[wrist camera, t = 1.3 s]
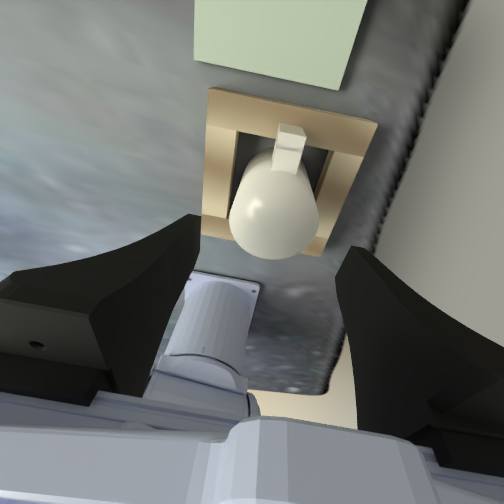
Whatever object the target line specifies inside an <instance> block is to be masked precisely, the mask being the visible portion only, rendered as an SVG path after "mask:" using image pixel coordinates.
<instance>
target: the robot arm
mask: <svg viewBox="0 0 504 504" xmlns="http://www.w3.org/2000/svg"><path fill="white" fill-rule="evenodd" d="M200 235H201V216H197V215H192V214H187V215H185V216H184V217H182V218H180V219H179V220H177V221H175V222H173V223H172V224H170V225H168V226H166V227H165V228H163V229H161V230H159V231H157V232H155V233H153V234H151V235H149V236H147V237H145V238H143V239H141V240H139V241H137V242H134V243H132V244H129V245H127V246H124V247H122V248H119V249H116V250H113V251H109V252H106V253H103V254H100V255H96V256H93V257H89V258H85V259H81V260H77V261H72V262H68V263H63V264H58V265H53V266H46V267H40V268H34V269H28V270H21V271H15V272H13V273H12V274H11V275H9V276H8V277H6V278H5V279H4V280H2V281H1V282H0V504H504V347H502V346H501V345H499V344H497V343H495V342H493V341H491V340H489V339H487V338H486V337H484V336H482V335H480V334H479V333H477V332H475V331H473V330H472V329H470V328H468V327H466V326H465V325H463V324H462V323H460V322H458V321H457V320H455V319H453V318H452V317H450V316H449V315H447V314H446V313H444V312H443V311H441V310H440V309H438V308H437V307H435V306H434V305H432V304H431V303H430V302H428V301H427V300H426V299H424V298H423V297H421V296H420V295H419V294H418V293H416V292H415V291H414V290H413V289H411V288H410V287H409V286H408V285H406V284H405V283H404V282H403V281H402V280H401V279H399V278H398V277H397V276H396V275H395V274H394V273H393V272H391V271H390V270H389V269H388V268H387V267H386V266H385V265H384V264H382V263H381V262H380V261H379V260H378V259H377V258H376V257H375V256H373V255H372V254H371V253H370V252H369V251H367V250H366V249H364V248H361V247H356V246H351V247H350V249H349V251H348V253H347V255H346V257H345V259H344V261H343V263H342V265H341V267H340V268H339V270H338V272H337V274H336V276H335V282H336V292H337V298H338V302H339V306H340V310H341V313H342V317H343V321H344V325H345V328H346V332H347V336H348V341H349V345H350V352H351V359H352V366H353V375H354V384H355V395H356V407H357V426H358V430H356V429H350V428H344V427H338V426H332V425H327V424H321V423H315V422H310V421H304V420H298V419H292V418H286V417H274V416H273V417H271V416H261V414H260V409H259V406H258V404H257V401H256V398H255V396H254V395H253V394H252V393H248V392H247V388H248V379H247V378H244V377H242V376H243V368H244V360H245V351H246V343H247V335H248V330H249V327H250V323H251V319H252V316H253V312H254V308H255V304H256V301H257V297H258V293H259V290H260V285H259V284H258V283H255V282H250V281H245V280H239V279H234V278H229V277H223V276H218V275H213V274H207V273H202V272H197V271H193V269H194V266H195V264H196V261H197V258H198V255H199V252H200ZM190 278H191V279H190ZM184 287H185V305H184V307H183V310H182V312H181V314H180V317H179V319H178V322H177V324H176V327H175V329H174V331H173V334H172V336H171V339H170V341H169V344H168V346H167V348H166V351H165V353H164V355H161V357H160V359H159V362H158V364H157V366H156V369H155V371H154V368H155V367H153V363H154V360H155V357H156V354H157V351H158V348H159V346H160V343H161V340H162V337H163V334H164V332H165V329H166V326H167V324H168V321H169V318H170V316H171V313H172V311H173V309H174V306H175V304H176V302H177V300H178V298H179V296H180V294H181V293H182V291H183V289H184ZM254 290H256V291H254Z"/></svg>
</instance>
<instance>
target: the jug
mask: <svg viewBox="0 0 504 504" xmlns="http://www.w3.org/2000/svg"><path fill="white" fill-rule="evenodd" d="M305 141H306V135H305V132H304V130H303V128H302V127H298V126H293V125H288V124H283V123H279V127H278V132H277V137H276V141H275V146H274V147H271V148H267V149H264V150H262V151H260V152H258V153H257V154H256V155H254V156H253V157H252V158H251V160H250V161H249V162H248V164H247V166H246V169H245V171H244V174H243V177H242V180H241V183H240V185H239V188H238V191H237V194H236V197H235V199H234V202H233V205H232V208H231V211H230V215H229V225H230V230H231V233H232V235H233V237H234V239H235V240H236V242H237V243H238V244H239V245H240V246H241V247H242V248H243V249H244V250H245V251H247V252H248V253H250V254H252V255H254V256H257V257H260V258H264V259H274V260H276V259H284V258H288V257H291V256H294V255H296V254H298V253H300V252H301V251H303V250H304V249H305V248H306V247H307V246H308V245H309V244H310V243H311V242H312V241H313V239H314V238H315V235H316V233H317V230H318V226H319V213H318V209H317V206H316V202H315V199H314V195H313V192H312V189H311V185H310V182H309V178H308V175H307V171H306V168H305V165H304V163H303V162H302V160H301V155H302V152H303V148H304V145H305Z"/></svg>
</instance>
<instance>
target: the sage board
mask: <svg viewBox="0 0 504 504" xmlns="http://www.w3.org/2000/svg"><path fill="white" fill-rule="evenodd" d="M366 3H367V0H195V20H194V60H198V61H202V62H207V63H212V64H216V65H221V66H226V67H230V68H235V69H240V70H244V71H249V72H254V73H258V74H263V75H268V76H272V77H277V78H282V79H286V80H291V81H296V82H300V83H305V84H310V85H315V86H319V87H324V88H329V89H333V90H339V87H340V84H341V81H342V78H343V75H344V71H345V68H346V65H347V62H348V59H349V56H350V53H351V50H352V47H353V43H354V40H355V37H356V34H357V31H358V28H359V25H360V22H361V19H362V15H363V12H364V9H365V6H366Z"/></svg>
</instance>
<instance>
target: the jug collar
mask: <svg viewBox="0 0 504 504" xmlns="http://www.w3.org/2000/svg"><path fill="white" fill-rule="evenodd" d="M279 123H283V124H288V125H293V126H298V127H302V128H303V130H304V132H305V135H306V141H305V145H307V146H312V147H317V148H322V149H327V150H329V151H328V154H327V157H326V160H325V163H324V166H323V169H322V172H321V174H320V177H319V180H318V183H317V186H316V189H315V192H314V199H315V202H316V206H317V209H318V213H319V226H318V230H317V233H316V235H315V238H314V239H313V241H312V242H311V243H310V244H309V245H308V246H307V247H306V248H305V249H304V250H303V251H301V252H300V253H301V254H306V255H311V256H316V257H321V254H322V252H323V250H324V248H325V245H326V243H327V241H328V238H329V236H330V234H331V232H332V229H333V227H334V225H335V222H336V220H337V218H338V215H339V213H340V211H341V209H342V206H343V204H344V202H345V199H346V197H347V195H348V193H349V190H350V188H351V186H352V183H353V181H354V179H355V176H356V174H357V172H358V170H359V167H360V165H361V163H362V160H363V158H364V156H365V153H366V151H367V149H368V147H369V144H370V142H371V140H372V137H373V135H374V133H375V131H376V128H377V126H378V124H377V123H375V122H373V121H371V120H368V119H363V118H358V117H353V116H349V115H344V114H339V113H334V112H330V111H325V110H320V109H315V108H311V107H306V106H301V105H296V104H292V103H287V102H282V101H278V100H273V99H268V98H263V97H259V96H254V95H249V94H244V93H240V92H235V91H230V90H225V89H221V88H216V87H212V88H208V102H207V122H206V142H205V162H204V181H203V201H202V221H201V234H202V235H208V236H213V237H218V238H223V239H228V240H234V241H236V240H235V239H234V237H233V235H232V233H231V230H230V225H229V215H230V211H231V210H229V208H230V200H231V192H232V184H233V176H234V168H235V160H236V152H237V145H238V137H239V131H240V132H244V133H249V134H254V135H259V136H264V137H269V138H273V139H276V137H277V132H278V127H279Z"/></svg>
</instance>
